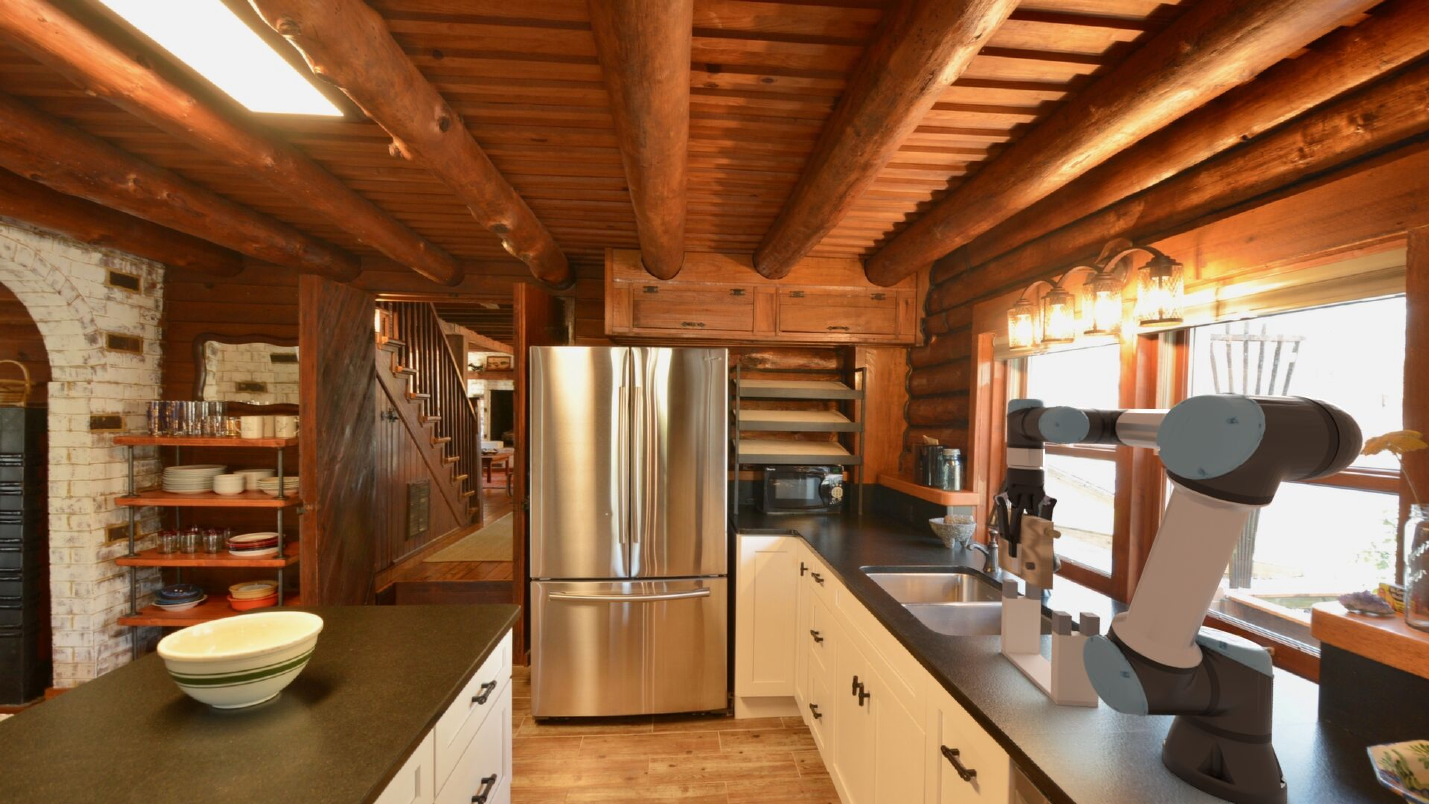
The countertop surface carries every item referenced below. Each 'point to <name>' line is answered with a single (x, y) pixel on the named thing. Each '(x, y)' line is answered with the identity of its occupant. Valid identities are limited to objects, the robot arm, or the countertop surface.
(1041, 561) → the oak door
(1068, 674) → the cabinet frame
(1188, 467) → the robot arm
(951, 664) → the countertop surface
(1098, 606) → the countertop surface
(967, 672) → the countertop surface
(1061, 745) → the countertop surface
